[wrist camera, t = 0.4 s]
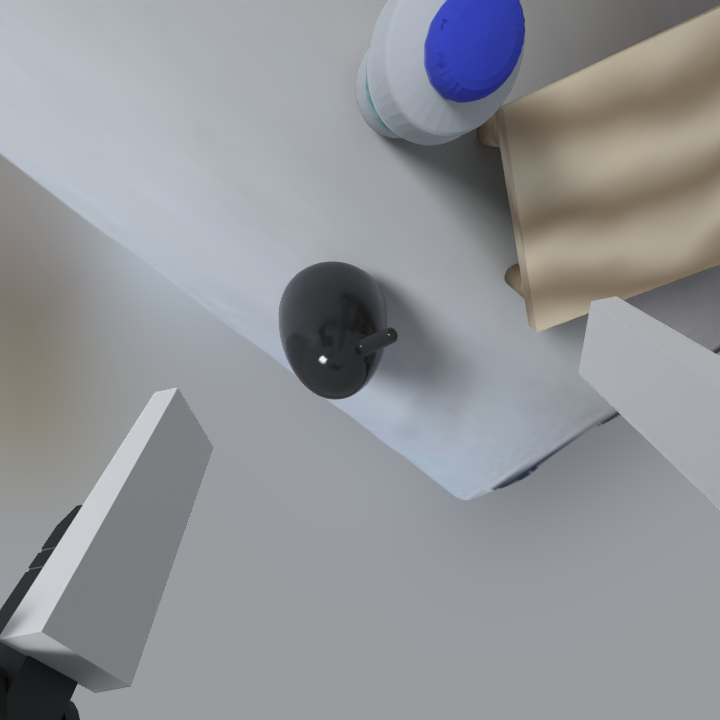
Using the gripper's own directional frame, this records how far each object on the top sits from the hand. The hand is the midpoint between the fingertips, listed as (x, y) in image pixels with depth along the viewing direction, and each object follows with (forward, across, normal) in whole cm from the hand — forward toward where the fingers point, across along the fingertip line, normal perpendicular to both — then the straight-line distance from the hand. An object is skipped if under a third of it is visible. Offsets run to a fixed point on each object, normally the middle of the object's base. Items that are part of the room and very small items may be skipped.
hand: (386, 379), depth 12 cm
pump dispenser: (+26, -3, -8) cm, 28 cm away
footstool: (+26, +22, -1) cm, 34 cm away
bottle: (+26, +6, +8) cm, 28 cm away
